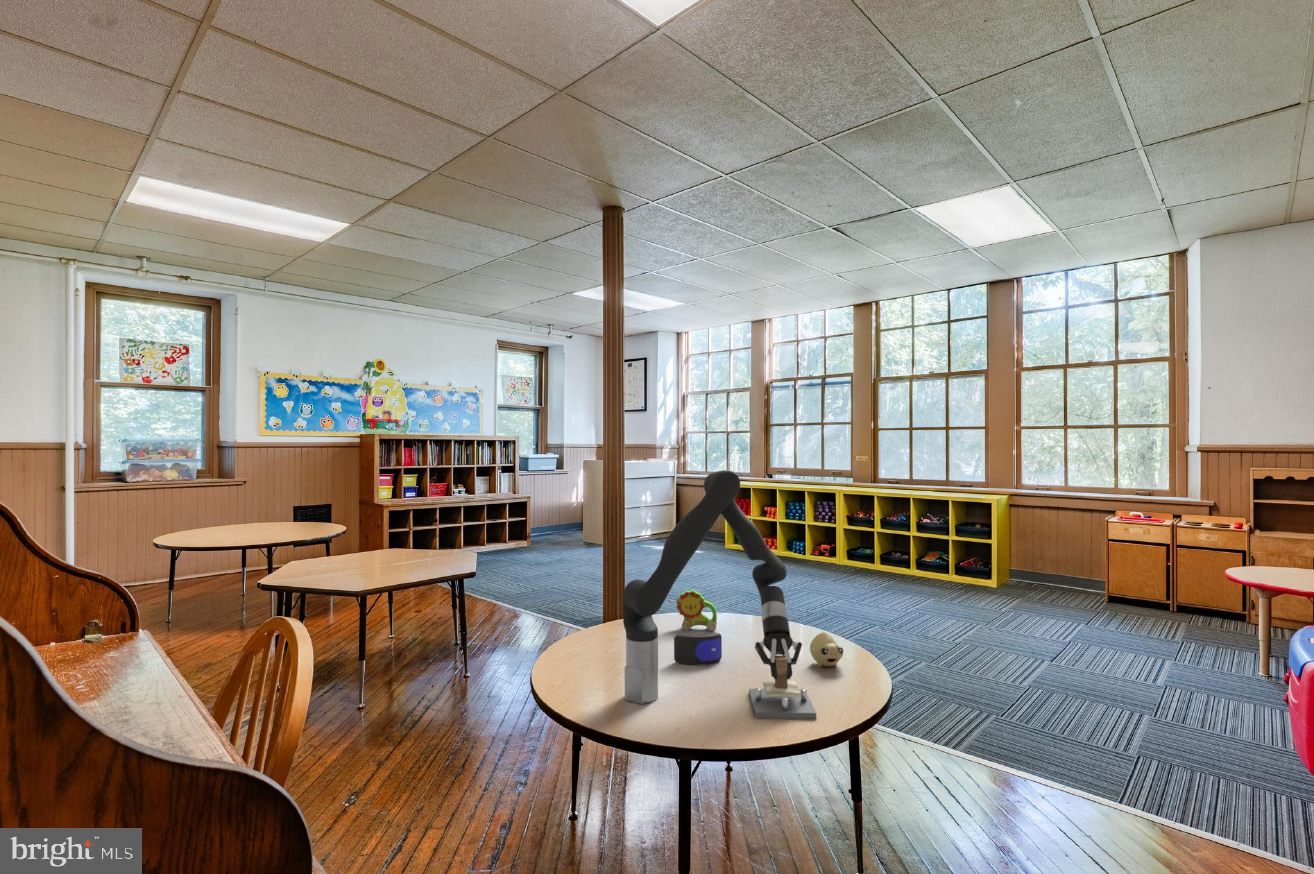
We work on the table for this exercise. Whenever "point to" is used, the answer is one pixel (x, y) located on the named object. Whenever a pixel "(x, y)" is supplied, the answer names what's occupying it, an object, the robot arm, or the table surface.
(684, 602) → the toy lion
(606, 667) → the table surface
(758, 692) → the standoff pins
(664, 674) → the table surface
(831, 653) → the yellow toy animal
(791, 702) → the base board
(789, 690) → the handled board
